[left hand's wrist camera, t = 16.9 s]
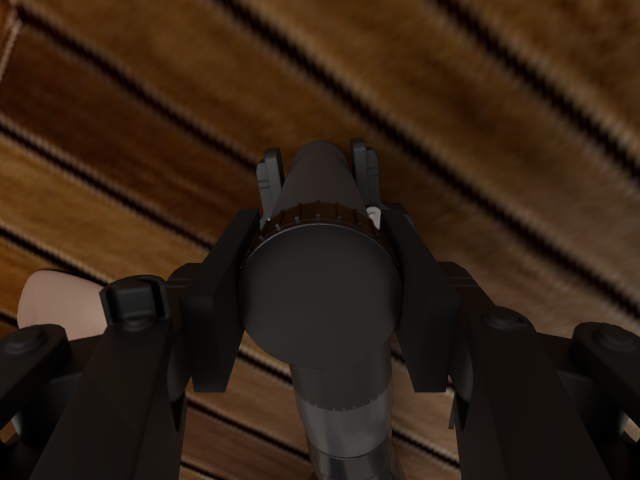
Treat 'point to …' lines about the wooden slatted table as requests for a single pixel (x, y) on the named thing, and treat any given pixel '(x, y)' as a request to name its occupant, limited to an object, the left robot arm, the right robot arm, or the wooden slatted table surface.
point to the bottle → (319, 180)
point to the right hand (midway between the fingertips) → (314, 146)
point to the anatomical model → (62, 304)
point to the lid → (319, 286)
